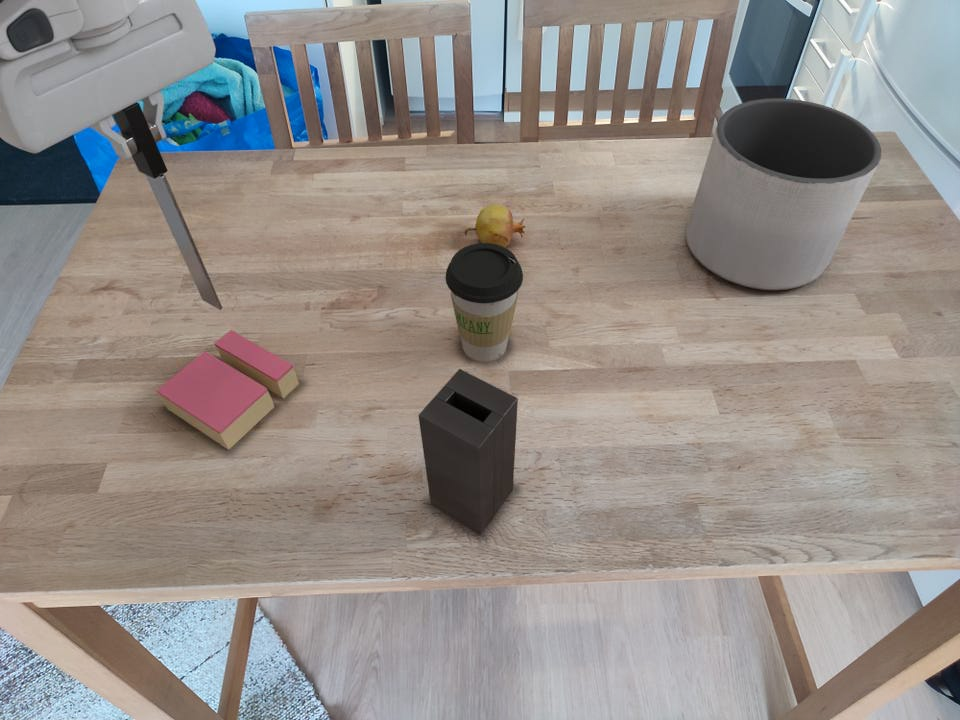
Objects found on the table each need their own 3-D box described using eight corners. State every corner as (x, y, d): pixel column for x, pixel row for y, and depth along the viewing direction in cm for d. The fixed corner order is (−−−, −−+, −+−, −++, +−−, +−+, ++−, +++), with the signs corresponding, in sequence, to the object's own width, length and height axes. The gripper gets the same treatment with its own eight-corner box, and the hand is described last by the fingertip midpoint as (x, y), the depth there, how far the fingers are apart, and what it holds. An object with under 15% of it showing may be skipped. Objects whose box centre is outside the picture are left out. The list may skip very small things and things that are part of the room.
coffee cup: (443, 327, 96) (437, 246, 84) (508, 315, 97) (511, 234, 86) (458, 378, 89) (454, 298, 78) (527, 364, 91) (533, 284, 79)
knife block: (480, 536, 74) (478, 448, 61) (430, 505, 77) (418, 415, 63) (513, 490, 78) (518, 398, 64) (464, 462, 81) (459, 368, 67)
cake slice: (283, 398, 87) (276, 379, 84) (223, 362, 92) (214, 343, 89) (299, 383, 89) (292, 364, 86) (239, 349, 93) (230, 329, 90)
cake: (228, 450, 82) (218, 431, 79) (167, 409, 86) (155, 390, 83) (274, 406, 86) (267, 388, 83) (214, 370, 91) (204, 350, 88)
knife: (216, 313, 76) (126, 111, 58) (198, 303, 78) (104, 102, 59) (226, 305, 77) (141, 103, 58) (209, 295, 78) (120, 94, 60)
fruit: (461, 229, 101) (527, 230, 100) (464, 194, 104) (527, 194, 104) (464, 256, 107) (526, 256, 107) (466, 222, 110) (526, 222, 110)
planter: (690, 291, 100) (726, 178, 85) (677, 204, 114) (707, 93, 99) (841, 301, 98) (906, 187, 83) (809, 211, 112) (859, 99, 97)
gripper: (154, -58, 58) (205, 92, 69) (-80, 26, 47) (24, 189, 58) (202, -45, 56) (248, 109, 66) (-31, 47, 45) (67, 213, 55)
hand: (142, 147), depth 62 cm, fingers closed on knife, 2 cm apart
